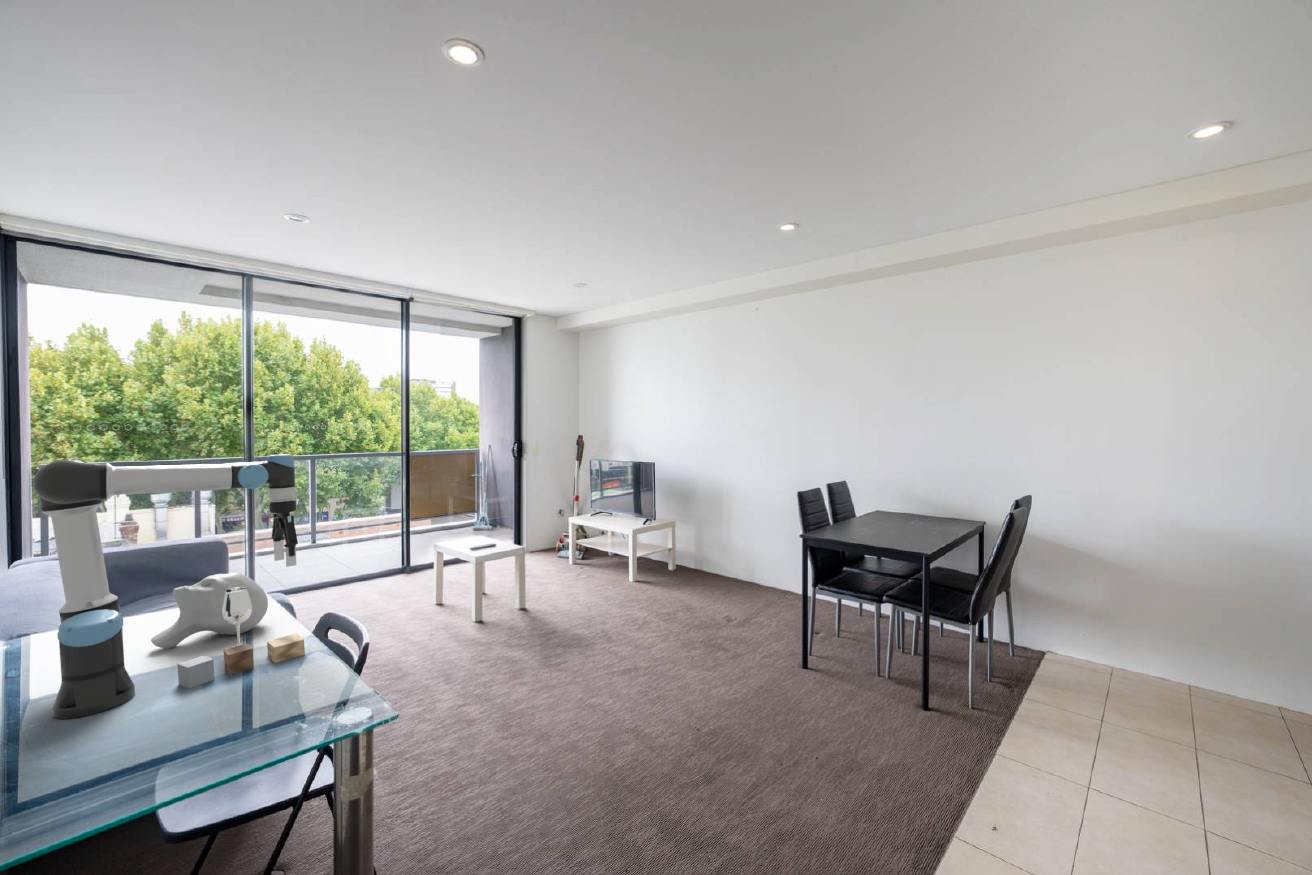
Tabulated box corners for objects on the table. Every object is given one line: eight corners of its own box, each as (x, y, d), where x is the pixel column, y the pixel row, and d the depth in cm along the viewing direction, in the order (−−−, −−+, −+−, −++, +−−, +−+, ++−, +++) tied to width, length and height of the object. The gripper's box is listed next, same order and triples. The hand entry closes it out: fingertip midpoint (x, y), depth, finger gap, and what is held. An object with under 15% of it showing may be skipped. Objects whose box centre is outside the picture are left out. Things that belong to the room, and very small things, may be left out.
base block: (274, 663, 168) (273, 647, 168) (267, 656, 173) (266, 641, 173) (304, 654, 174) (304, 639, 174) (297, 648, 179) (296, 633, 179)
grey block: (189, 688, 153) (187, 667, 153) (178, 684, 156) (177, 663, 155) (214, 679, 158) (213, 659, 158) (204, 675, 161) (202, 655, 161)
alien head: (124, 606, 182) (231, 550, 204) (168, 663, 191) (266, 603, 212) (133, 619, 169) (247, 557, 191) (180, 679, 177) (284, 614, 199)
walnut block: (228, 675, 161) (227, 655, 160) (224, 669, 165) (223, 649, 164) (253, 668, 165) (252, 648, 165) (249, 662, 169) (248, 643, 169)
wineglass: (241, 655, 175) (238, 592, 174) (217, 656, 175) (214, 593, 174) (260, 645, 182) (256, 585, 182) (236, 646, 183) (233, 586, 182)
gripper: (307, 501, 180) (309, 565, 181) (284, 496, 197) (287, 555, 198) (280, 504, 175) (283, 570, 175) (259, 499, 191) (262, 559, 192)
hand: (285, 562), depth 186 cm, fingers open, 13 cm apart
